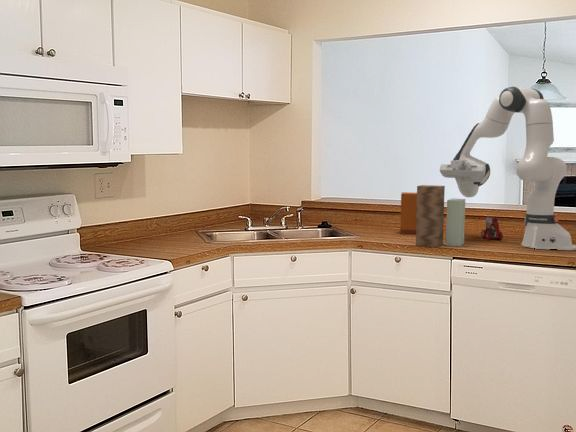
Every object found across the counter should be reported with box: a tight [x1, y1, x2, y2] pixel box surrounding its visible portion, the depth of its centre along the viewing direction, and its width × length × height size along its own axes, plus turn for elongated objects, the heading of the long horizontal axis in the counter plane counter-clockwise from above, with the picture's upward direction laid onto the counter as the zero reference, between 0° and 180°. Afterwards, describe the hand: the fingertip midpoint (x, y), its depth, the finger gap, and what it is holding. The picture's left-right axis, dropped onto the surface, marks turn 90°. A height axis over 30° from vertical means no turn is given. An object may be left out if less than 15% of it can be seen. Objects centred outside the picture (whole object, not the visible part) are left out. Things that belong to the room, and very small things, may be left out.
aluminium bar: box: [450, 159, 467, 168], centre depth 302 cm, size 3×20×3 cm, turn 155°
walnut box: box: [415, 184, 446, 248], centre depth 300 cm, size 10×9×26 cm
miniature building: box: [399, 192, 417, 236], centre depth 340 cm, size 10×9×20 cm
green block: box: [445, 198, 466, 247], centre depth 302 cm, size 6×10×20 cm, turn 155°
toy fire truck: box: [480, 216, 503, 241], centre depth 321 cm, size 7×12×10 cm, turn 6°
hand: (460, 162), depth 305 cm, fingers closed on aluminium bar, 3 cm apart
